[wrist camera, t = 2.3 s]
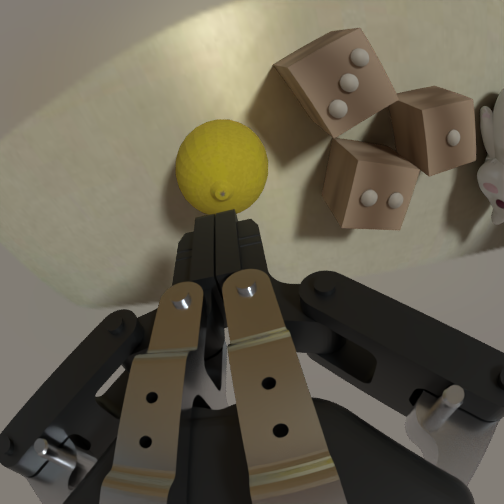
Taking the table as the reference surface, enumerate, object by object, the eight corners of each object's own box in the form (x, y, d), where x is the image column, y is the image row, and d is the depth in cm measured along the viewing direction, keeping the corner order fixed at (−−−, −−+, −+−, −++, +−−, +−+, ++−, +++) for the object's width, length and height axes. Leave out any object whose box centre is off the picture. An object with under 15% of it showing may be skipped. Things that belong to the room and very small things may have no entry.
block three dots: (330, 31, 16) (362, 27, 12) (365, 87, 19) (400, 100, 15) (272, 64, 18) (288, 67, 13) (311, 119, 20) (335, 139, 16)
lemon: (252, 184, 23) (265, 245, 17) (180, 176, 22) (163, 235, 16) (266, 115, 20) (290, 149, 13) (188, 105, 19) (169, 133, 12)
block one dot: (433, 85, 18) (474, 99, 14) (440, 138, 21) (477, 161, 17) (385, 95, 19) (423, 110, 15) (396, 151, 22) (430, 177, 18)
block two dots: (387, 145, 22) (421, 171, 18) (373, 198, 25) (401, 231, 21) (332, 137, 21) (359, 161, 17) (321, 195, 24) (342, 229, 20)
